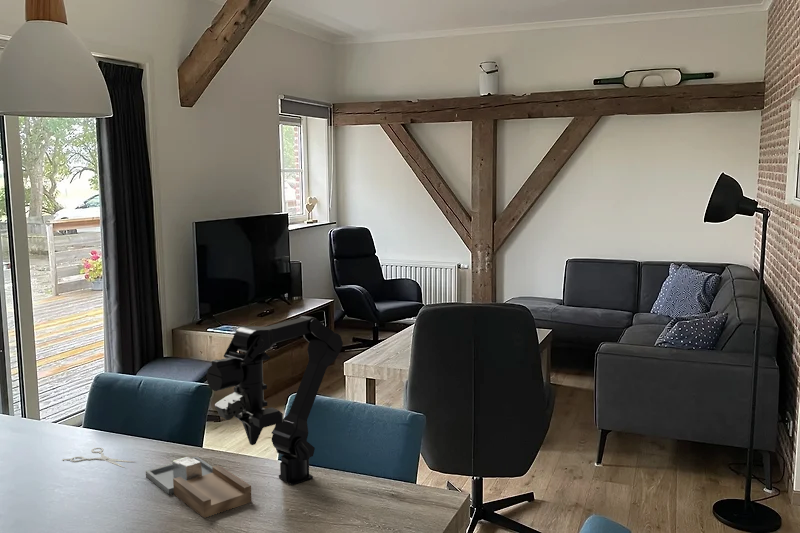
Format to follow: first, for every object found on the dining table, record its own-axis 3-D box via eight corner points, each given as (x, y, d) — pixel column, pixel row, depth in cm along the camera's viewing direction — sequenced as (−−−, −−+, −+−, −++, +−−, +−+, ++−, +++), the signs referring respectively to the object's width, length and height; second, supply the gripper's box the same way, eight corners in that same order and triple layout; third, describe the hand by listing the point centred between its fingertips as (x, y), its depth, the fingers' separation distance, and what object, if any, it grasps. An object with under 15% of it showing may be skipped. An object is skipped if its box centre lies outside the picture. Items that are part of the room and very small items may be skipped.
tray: (197, 461, 188) (196, 456, 188) (222, 478, 178) (221, 472, 178) (145, 476, 179) (145, 471, 179) (169, 495, 169) (168, 489, 169)
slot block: (219, 480, 177) (218, 464, 176) (251, 501, 165) (251, 485, 165) (173, 494, 169) (173, 478, 168) (204, 518, 157) (203, 501, 157)
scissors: (93, 446, 199) (146, 456, 191) (93, 448, 199) (147, 459, 191) (61, 459, 189) (116, 471, 181) (61, 462, 189) (116, 474, 181)
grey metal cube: (195, 475, 178) (188, 471, 181) (194, 460, 177) (187, 456, 180) (180, 480, 175) (173, 476, 178) (179, 464, 175) (172, 460, 178)
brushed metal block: (195, 473, 178) (193, 458, 177) (202, 477, 175) (201, 462, 174) (180, 478, 175) (178, 462, 175) (187, 482, 172) (185, 466, 172)
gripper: (200, 378, 166) (203, 442, 168) (239, 397, 152) (241, 465, 154) (242, 370, 173) (244, 430, 175) (283, 387, 159) (285, 452, 161)
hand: (252, 444), depth 166 cm, fingers closed
